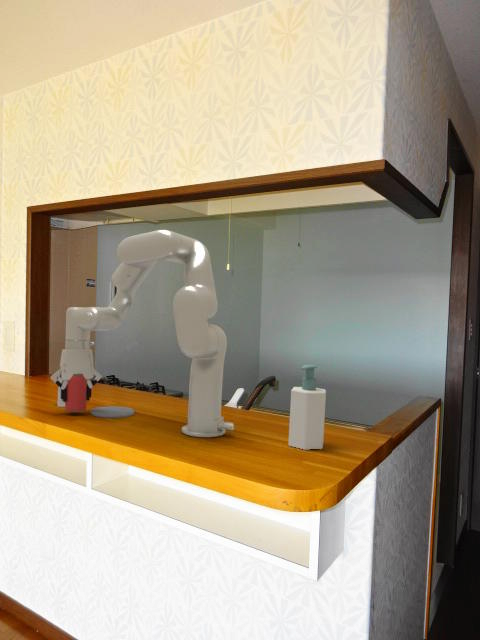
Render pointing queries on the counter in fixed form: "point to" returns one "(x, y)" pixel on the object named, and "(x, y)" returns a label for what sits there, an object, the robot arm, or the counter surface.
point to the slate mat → (112, 412)
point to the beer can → (76, 393)
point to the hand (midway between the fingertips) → (75, 400)
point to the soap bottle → (307, 413)
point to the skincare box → (60, 402)
